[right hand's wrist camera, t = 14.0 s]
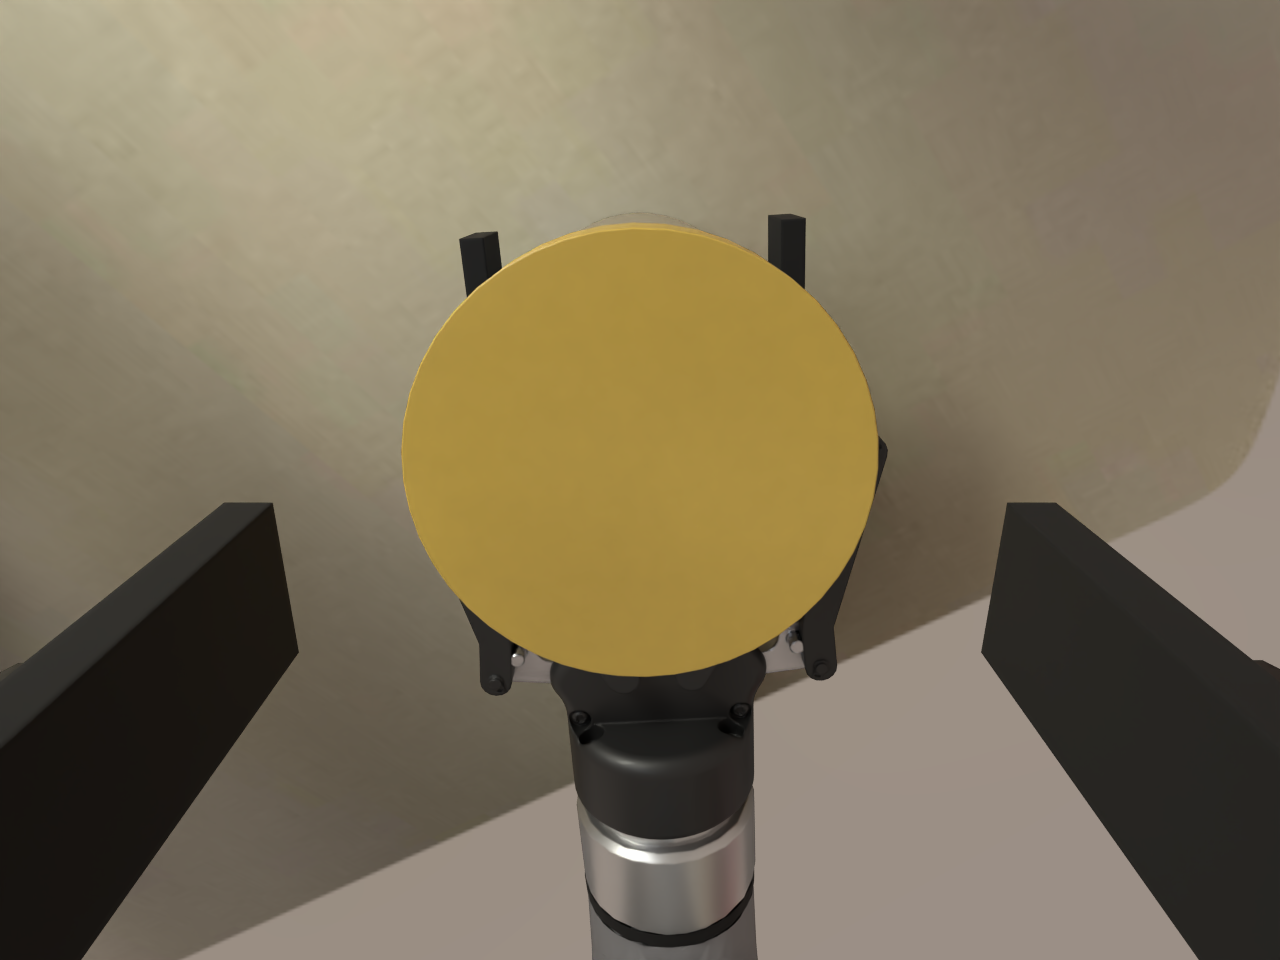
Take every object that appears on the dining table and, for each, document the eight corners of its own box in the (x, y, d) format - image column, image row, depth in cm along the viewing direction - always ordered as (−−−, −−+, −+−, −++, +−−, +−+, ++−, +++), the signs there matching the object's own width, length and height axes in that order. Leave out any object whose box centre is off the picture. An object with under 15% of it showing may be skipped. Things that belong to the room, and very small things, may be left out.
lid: (612, 708, 22) (610, 749, 20) (327, 421, 19) (299, 443, 17) (944, 481, 19) (970, 507, 18) (676, 114, 16) (680, 108, 15)
